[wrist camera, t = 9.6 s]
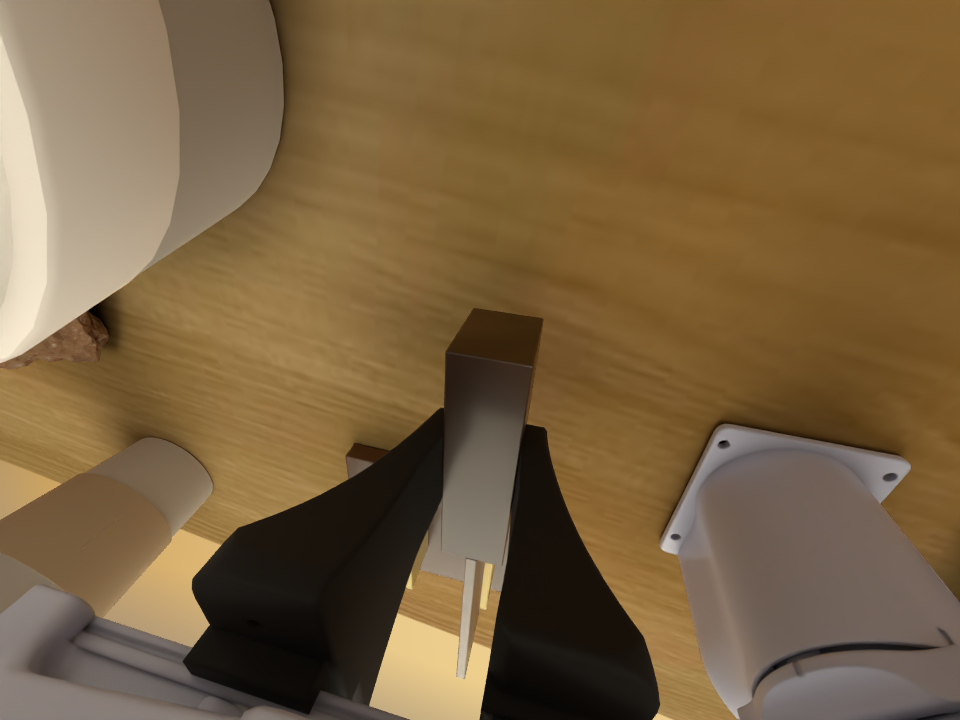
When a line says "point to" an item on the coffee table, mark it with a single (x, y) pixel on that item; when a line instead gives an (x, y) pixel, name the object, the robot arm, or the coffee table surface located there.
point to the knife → (484, 445)
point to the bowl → (123, 142)
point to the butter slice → (486, 584)
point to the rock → (67, 343)
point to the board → (434, 556)
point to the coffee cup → (102, 525)
